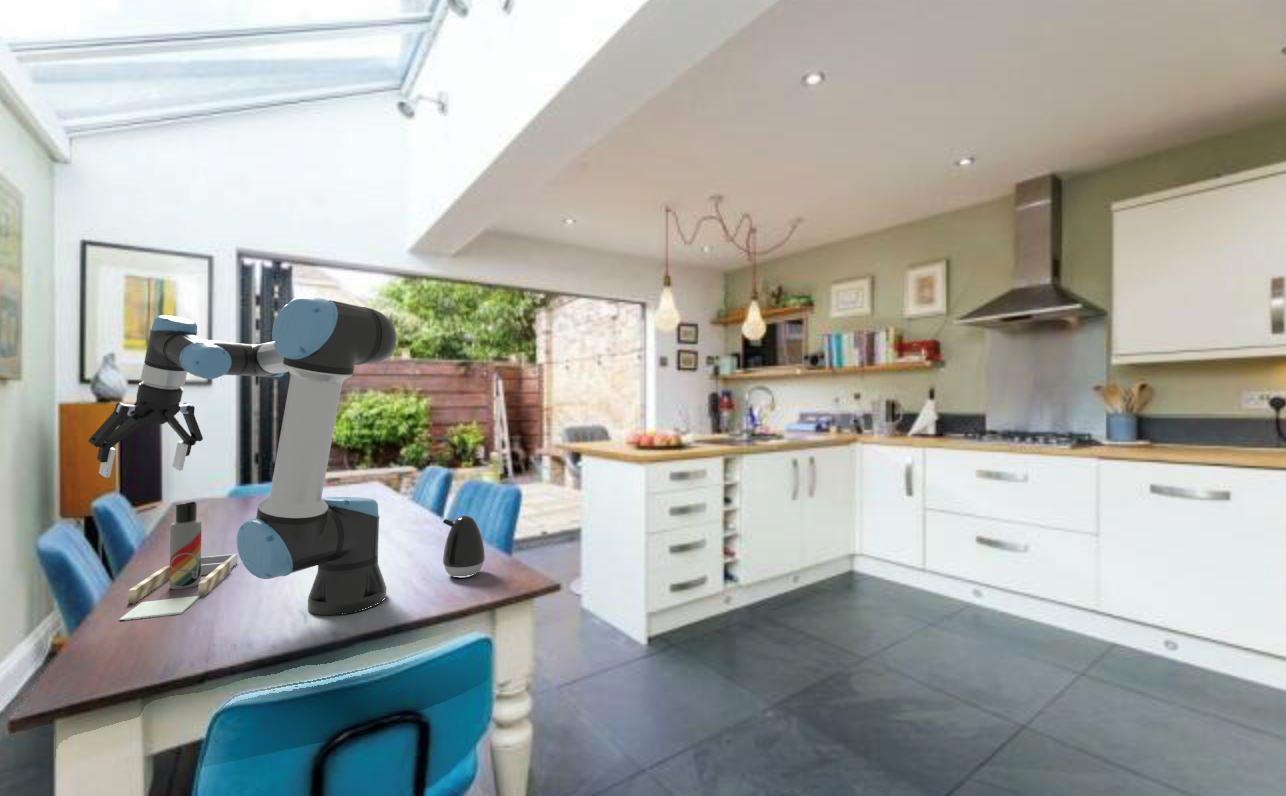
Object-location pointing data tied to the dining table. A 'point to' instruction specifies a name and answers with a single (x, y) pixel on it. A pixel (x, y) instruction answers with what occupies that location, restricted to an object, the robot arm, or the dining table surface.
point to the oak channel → (164, 575)
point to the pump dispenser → (463, 547)
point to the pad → (160, 608)
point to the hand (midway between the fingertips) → (142, 471)
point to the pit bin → (216, 562)
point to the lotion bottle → (185, 547)
